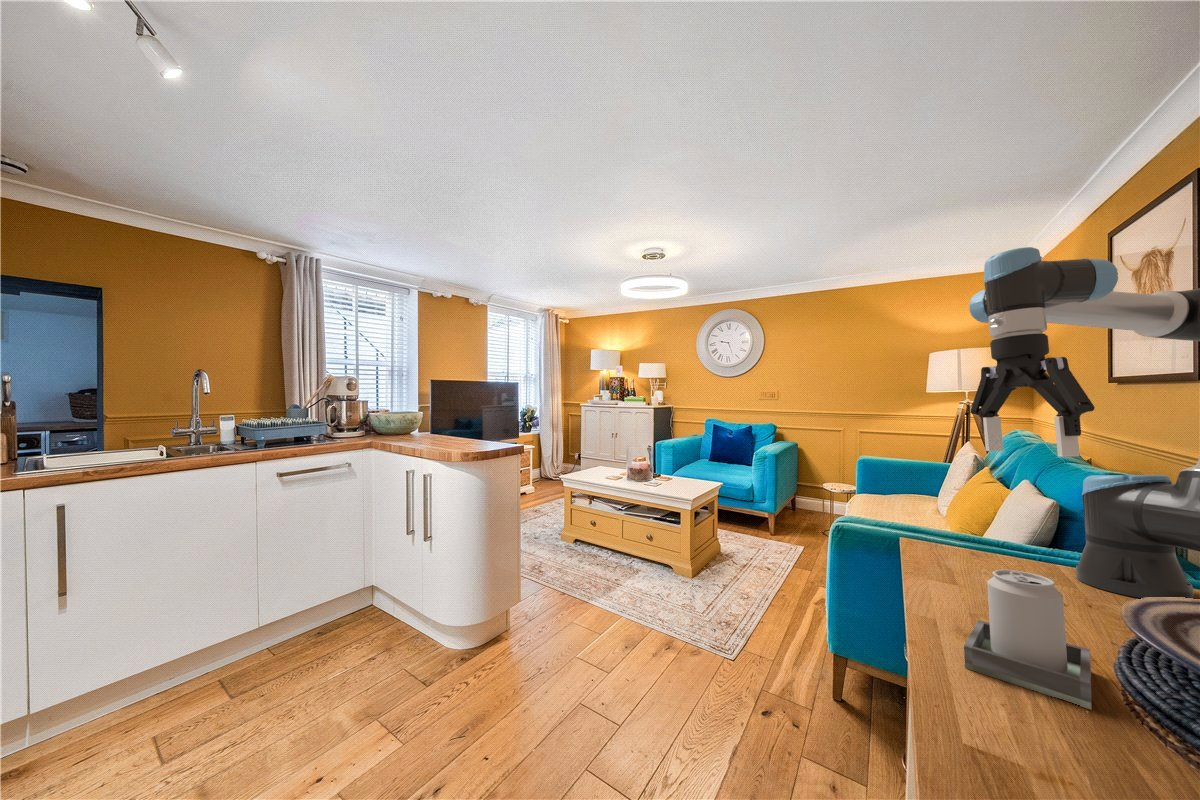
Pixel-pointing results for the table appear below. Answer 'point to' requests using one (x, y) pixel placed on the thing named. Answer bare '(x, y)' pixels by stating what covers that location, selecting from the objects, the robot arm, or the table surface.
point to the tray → (1031, 669)
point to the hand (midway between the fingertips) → (1028, 453)
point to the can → (1027, 619)
